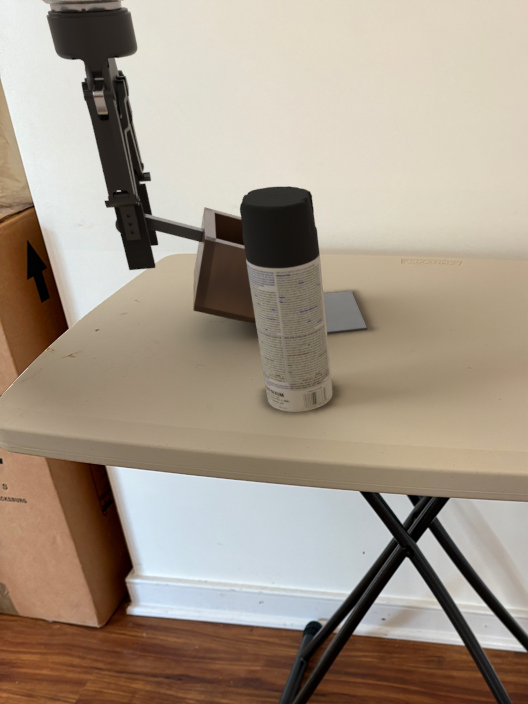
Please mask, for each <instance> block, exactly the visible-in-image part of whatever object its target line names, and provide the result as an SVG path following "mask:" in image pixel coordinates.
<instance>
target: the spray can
mask: <svg viewBox="0 0 528 704" xmlns="http://www.w3.org/2000/svg"><path fill="white" fill-rule="evenodd" d="M239 214H240V217H241V221H242V228H243V240H244V247H245V255H246V263H247V269H248V276H249V282H250V288H251V295H252V301H253V308H254V314H255V320H256V324H255V326H256V327H255V328H256V332H257V339H258V346H259V353H260V358H261V366H262V373H263V379H264V385H265V393H266V397H267V402H268V403H269V405H270V406H271V407H273V408H274V409H277V410H280V411H284V412H290V413H293V412H295V413H297V412H298V413H300V412H306V411H307V412H308V411H311V410H315V409H318V408H320V407H323V406H324V405H326V404H327V403H329V402H330V401H331V399H332V397H333V382H332V374H331V373H332V372H331V371H332V370H331V362H330V361H331V360H330V351H329V339H328V334H327V327H326V316H325V305H324V294H325V293H324V286H323V285H324V284H323V274H322V263H321V262H322V261H321V254H320V253H321V252H320V245H319V236H318V228H317V226H316V219H315V210H314V202H313V195H312V193H311V191H310V190H308V189H306V188H302V187H301V188H300V187H296V186H268V187H267V186H266V187H262V188H257V189H252V190H250V191H248V192H247V193H246V194H244V195H243V197H242V199H241V203H240V206H239Z"/></svg>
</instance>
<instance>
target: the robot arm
mask: <svg viewBox="0 0 528 704" xmlns="http://www.w3.org/2000/svg"><path fill="white" fill-rule="evenodd" d="M41 1H42V2H43V3H45V4H47V5H49V7H50V10H48V11H47V14H46V20H47V25H48V27H49V31H50V35H51V40H52V43H53V46H54V50H55V53H56V55H57V56H58V57H60V58H61V59H64V60H69V61H75V60H79V61H82V62H83V65H84V71H85V76H86V77H84V79H83V80H84V81H81V82H80V85H81V91H82V94H83V100H84V101H85V103H86V106H87V110H88V114H89V117H90V122H91V125H92V130H93V133H94V138H95V144H96V147H97V152H98V157H99V160H100V165H101V168H102V173H103V178H104V182H105V186H106V191H107V200H104V206H105V207H106V209H108V208H109V209H110V208H113V209H114V214H115V217H116V219H117V222H118V226H119V230H120V232H119V234H120V238H121V242H122V246H123V250H124V255H125V258H126V263H127V266H128V270H129V271H136V270H150V269H156V262H155V257H154V253H153V248H152V247H153V246H154V247H157V246H159V240H158V235H157V231H154V230H150V229H147V225H146V221H145V216H144V214H148V215H152V216H153V212H152V207H151V202H150V198H149V193H148V188H147V185H146V182H152V176H151V172H150V171H145V172H144V170H145V163H144V162H143V159H142V156H141V151H140V147H139V142H138V138H137V132H136V129H135V125H134V119H133V118H134V117H133V110H132V105H131V102H130V97H129V96H130V88H129V87H130V86H129V84H128V83H129V82H128V79H127V76H126V75H125V74H124V73H123V70H122V69H118V65H117V61H116V59H121V58H127V57H131V56H133V55H135V54H136V53H137V51H138V42H137V38H136V33H135V29H134V23H133V17H132V13H131V12H132V11H130V10H128V7H125V6H123V5H122V1H124V0H41ZM144 182H145V183H144Z"/></svg>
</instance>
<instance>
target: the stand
mask: <svg viewBox="0 0 528 704" xmlns="http://www.w3.org/2000/svg"><path fill="white" fill-rule="evenodd" d="M323 294H324V305H325V316H326V327H327V335H331V334H340V333H349V332H358V331H367V330H368V327H367V325H366V322H365V320H364V316H363V315H362V312H361V310H360V307H359V305H358V302H357V300H356V298H355V296H354V293H353V291H352V290H347V291H338V292H329V293H326V292H325V293H323Z"/></svg>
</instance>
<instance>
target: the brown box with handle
mask: <svg viewBox="0 0 528 704" xmlns="http://www.w3.org/2000/svg"><path fill="white" fill-rule="evenodd" d="M144 216H145V221H146V225H147V229H150V230H154V231H156V232H159V233H163V234H167V235H171V236H175V237H178V238H183V239H187V240H191V241H195V242H198V245H197V251H196V257H195V263H194V269H193V298H192V299H193V303H192V304H193V305H192V310H193V312H197V313H202V314H207V315H211V316H216V317H220V318H223V319H228V320H234V321H238V322H242V323H247V324H252V325H256V320H255V314H254V308H253V301H252V295H251V288H250V282H249V276H248V269H247V263H246V255H245V247H244V240H243V228H242V221H241V216H239V215H235V214H232V213H227V212H224V211H220V210H218V209H217V210H216V209H213V208H209V207H203V213H202V218H201V226H200V227H198V226H196V225H195V226H193V225H191V224H186V223H183V222H180V221H175V220H172V219H167V218H163V217H160V216H156V215H153V214H152V215H148V214H144ZM114 225H115V229H116V230H117V232H118V233H120V230H119V226H118V222H117V218H116V220H115V224H114Z"/></svg>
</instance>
